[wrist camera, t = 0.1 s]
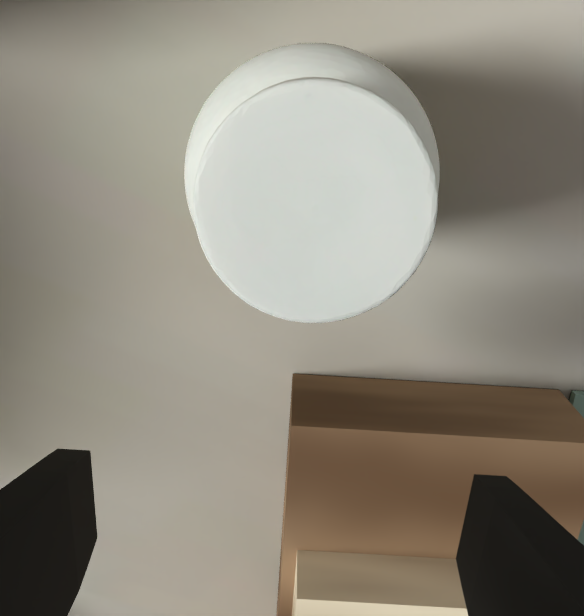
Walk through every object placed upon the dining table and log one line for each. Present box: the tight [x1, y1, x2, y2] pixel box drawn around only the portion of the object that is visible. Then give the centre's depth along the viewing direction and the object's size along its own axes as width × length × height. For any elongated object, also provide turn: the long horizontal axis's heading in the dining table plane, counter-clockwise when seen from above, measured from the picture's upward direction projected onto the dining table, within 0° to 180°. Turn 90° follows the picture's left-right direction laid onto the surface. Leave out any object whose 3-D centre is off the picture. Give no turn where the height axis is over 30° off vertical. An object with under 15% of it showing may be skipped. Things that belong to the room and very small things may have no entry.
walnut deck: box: [277, 374, 584, 616], centre depth 22 cm, size 18×10×4 cm, turn 177°
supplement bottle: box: [184, 43, 440, 323], centre depth 13 cm, size 5×5×10 cm
